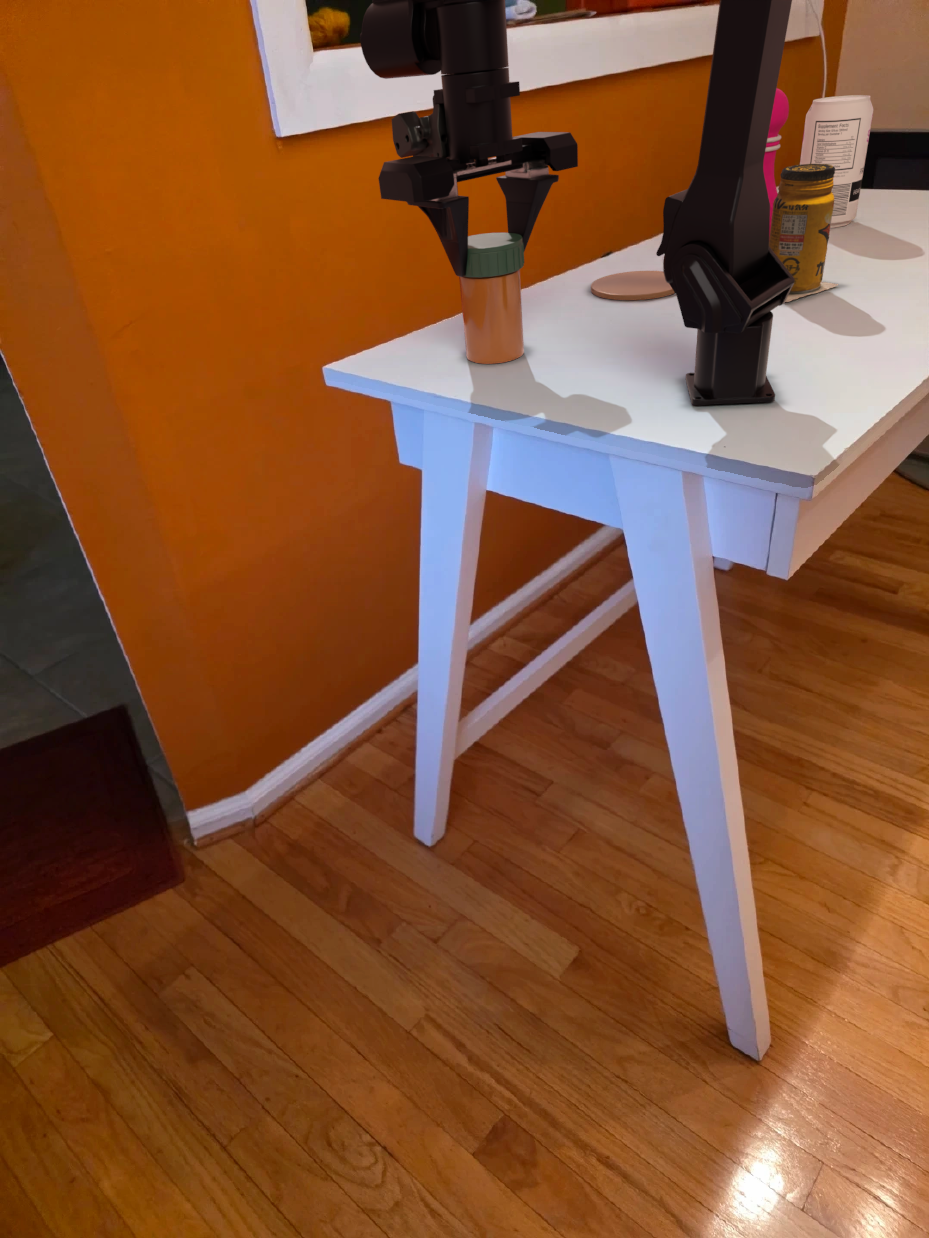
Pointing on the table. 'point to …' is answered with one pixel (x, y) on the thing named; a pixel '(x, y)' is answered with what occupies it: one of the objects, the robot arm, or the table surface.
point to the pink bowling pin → (774, 144)
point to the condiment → (803, 225)
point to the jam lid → (494, 254)
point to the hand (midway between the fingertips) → (489, 268)
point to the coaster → (632, 286)
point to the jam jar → (492, 318)
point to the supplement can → (839, 147)
